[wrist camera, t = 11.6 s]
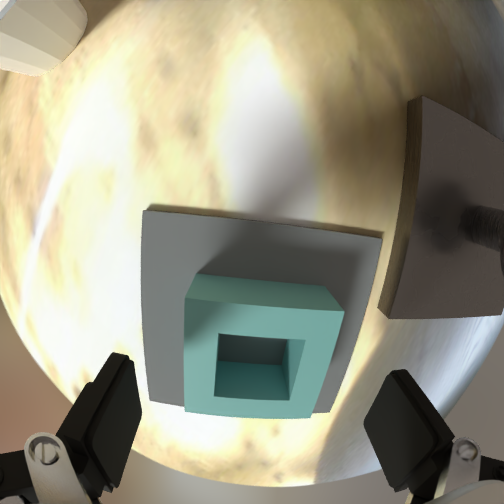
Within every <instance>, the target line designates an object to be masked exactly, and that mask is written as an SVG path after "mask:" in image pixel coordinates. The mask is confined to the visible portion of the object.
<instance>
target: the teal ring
mask: <svg viewBox="0 0 504 504" xmlns="http://www.w3.org/2000/svg"><path fill="white" fill-rule="evenodd" d="M344 312H345V311H344V310H343V309H342V307H341V306H340V305H339V303H338V302H337V301H336V300H335V298H334V297H333V296H332V295H331V293H330V292H329V291H328V290H327V288H326V287H325V286H319V285H307V284H296V283H285V282H274V281H264V280H254V279H244V278H234V277H225V276H216V275H207V274H198V273H196V275H195V277H194V279H193V281H192V283H191V285H190V287H189V290H188V292H187V294H186V296H185V305H184V405H185V412H191V413H199V414H207V415H217V416H228V417H242V418H265V419H298V418H310V417H311V415H312V412H313V409H314V407H315V404H316V401H317V399H318V396H319V393H320V390H321V387H322V385H323V382H324V379H325V376H326V373H327V370H328V367H329V364H330V361H331V357H332V354H333V351H334V348H335V344H336V341H337V338H338V334H339V331H340V327H341V323H342V320H343V316H344ZM220 334H230V335H240V336H252V337H265V338H281V339H287V342H286V347H285V352H284V356H283V361H282V365H267V364H251V363H238V362H227V361H218V348H219V336H220Z"/></svg>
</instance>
